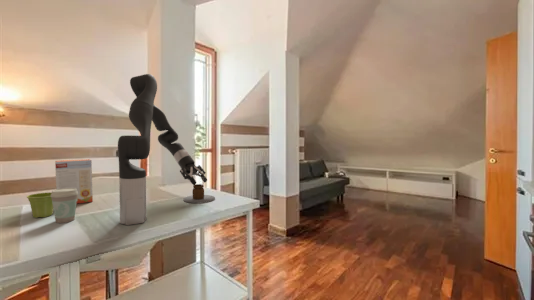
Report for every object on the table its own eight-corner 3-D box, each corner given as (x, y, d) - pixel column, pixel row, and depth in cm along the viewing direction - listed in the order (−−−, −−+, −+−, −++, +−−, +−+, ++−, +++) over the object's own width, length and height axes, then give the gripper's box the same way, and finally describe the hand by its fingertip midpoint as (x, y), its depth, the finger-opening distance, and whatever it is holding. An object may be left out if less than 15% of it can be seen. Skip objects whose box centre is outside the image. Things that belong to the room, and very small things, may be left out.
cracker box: (91, 199, 136) (90, 158, 134) (92, 202, 131) (92, 159, 130) (56, 203, 127) (55, 160, 126) (56, 206, 122) (55, 161, 121)
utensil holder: (206, 198, 139) (206, 175, 138) (194, 200, 135) (194, 176, 134) (201, 196, 144) (201, 174, 143) (190, 198, 140) (190, 175, 139)
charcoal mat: (219, 200, 138) (219, 199, 138) (189, 204, 129) (189, 203, 129) (208, 194, 151) (208, 193, 151) (179, 198, 142) (179, 196, 142)
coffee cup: (45, 222, 100) (44, 191, 99) (68, 216, 108) (67, 187, 108) (61, 225, 98) (61, 193, 97) (84, 218, 106) (83, 188, 105)
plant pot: (22, 217, 106) (21, 195, 105) (49, 211, 115) (48, 191, 114) (35, 220, 102) (34, 198, 102) (62, 214, 111) (62, 193, 110)
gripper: (177, 155, 136) (195, 180, 131) (196, 154, 149) (213, 176, 144) (170, 165, 138) (187, 189, 134) (189, 163, 151) (205, 185, 147)
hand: (200, 182), depth 139 cm, fingers open, 8 cm apart
